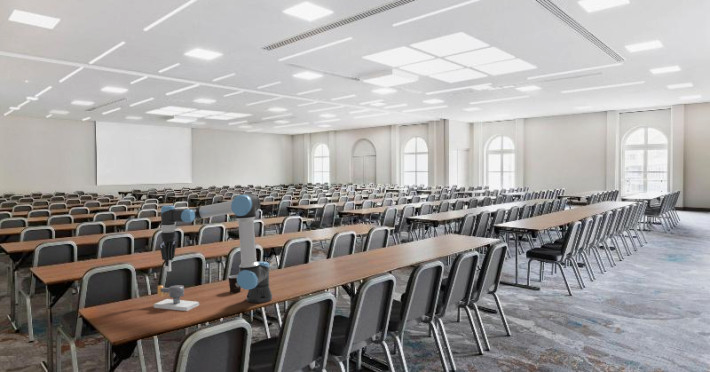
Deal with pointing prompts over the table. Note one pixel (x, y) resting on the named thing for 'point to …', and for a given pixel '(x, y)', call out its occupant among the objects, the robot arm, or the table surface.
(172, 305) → the post base
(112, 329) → the table surface
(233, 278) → the coffee mug
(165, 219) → the robot arm
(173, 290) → the orange knob joystick
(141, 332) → the table surface
